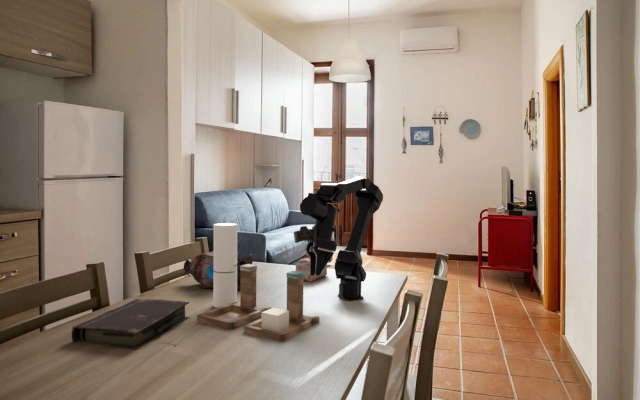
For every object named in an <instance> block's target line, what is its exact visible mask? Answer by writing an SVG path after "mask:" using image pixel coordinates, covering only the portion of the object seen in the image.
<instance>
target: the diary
mask: <svg viewBox="0 0 640 400" xmlns="http://www.w3.org/2000/svg"><path fill="white" fill-rule="evenodd" d="M189 304H190V301H184V300H183V301H182V300H172V299H171V300H169V299H152V298H151V299H147V298H146V299H142V298H136V299H133V300H131V301H129V302H127V303H125V304H122V305H121V306H119V307H116V308H113V309H111V310H108V311H106V312H104V313H101V314H99V315H97V316H95V317H94V318H91V319H89V320H86V321H83V322H81V323H77V324H75V325H73V326H71V341H72V343H76V342H78V341H80V340H81V342H80V343H84V342H86V343H89V342H91V343H92V344H99V345H106V346H108V347H111V348H116V349H117V348H118V349H126V350H135V349H139V348H141V347H143V346H145V345H146V344H148V343H150V342H152V341H154V340H155V339H156V338H158V337H159V336H161V335H163V334H164V333H167V332H168V331H171V330H172V329H173V328H174V327H175V326H177V325H179V324H182V323H184V322H185V321H186V320H188V319H190V318H191V317H190V316H186V306H187V305H189Z"/></svg>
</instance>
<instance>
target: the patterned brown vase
mask: <svg viewBox="0 0 640 400" xmlns="http://www.w3.org/2000/svg"><path fill="white" fill-rule="evenodd" d="M213 262H214V250H212V251H209V252H203V253H202V254H198V255H196V256H195V257H194V258H193V259H192V261H190V260H189V259H187V258H186V259H185V262H184V264H183V270H184V273H185V274H186V275H187V276H188V278H190V277H191V276H192V278H193V279H194V280H195V281H196V282H197V283H198V284H199V289H207V288H208V289H212V288H213V271H214V270H213ZM253 262H254V261H253V255H252V254H251V253H250V254H249V256H247V257H243V258H238V257H237V292H239V291H240V284H241V270H240V266H242V265H245V264H252V265H253ZM189 273H190V275H191V276H190V275H189Z"/></svg>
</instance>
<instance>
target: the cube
mask: <svg viewBox="0 0 640 400" xmlns="http://www.w3.org/2000/svg"><path fill="white" fill-rule="evenodd" d="M260 319H261V328H263V329H267V330H272V331H276V332H281V333H282V332H284V331H286V330H288V329H289V311H288V310H287V309H284V310H283V309H282V308H278V307H271V309H269V310H266V311H264V312H262V314H261V317H260Z"/></svg>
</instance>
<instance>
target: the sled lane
mask: <svg viewBox="0 0 640 400" xmlns="http://www.w3.org/2000/svg"><path fill="white" fill-rule="evenodd" d="M303 277H304V272H299V271H296V270H291V271H289V272H286V310H288V311H289V329H288V330H286V331H284V332H282V333H281V332H276V331H272V330H267V329H263V328H261V318H258V319H256V320H253V321H251V322H249V323H246V324H244V325H243V333H245V334H248V335H253V336H257V337H260V338H263V339H264V338H265V339H269V340H274V341H277V342H282V343H284V342H286V341H288V340H289V339H291V338H293V337H295V336H297V335H299V334H301V333H303V332H304V331H306V330H308V329H310V328H312V327H314V326H315V325H317V324H320V316H318V315H315V316H310V315H304V281H303ZM283 310H285V309H283Z"/></svg>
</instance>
